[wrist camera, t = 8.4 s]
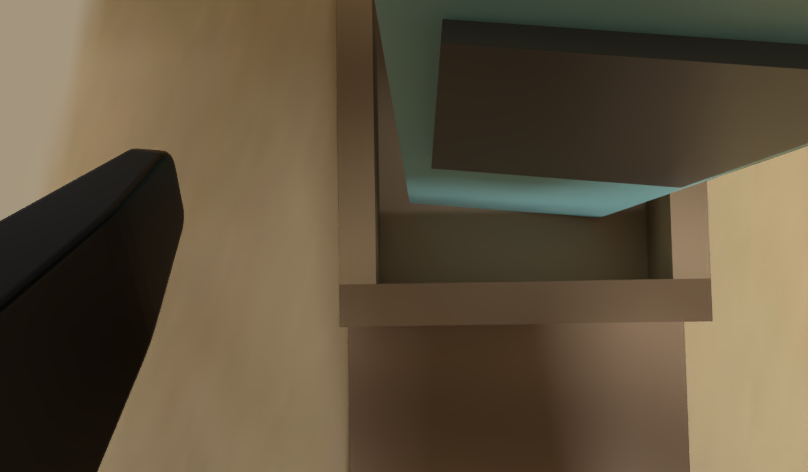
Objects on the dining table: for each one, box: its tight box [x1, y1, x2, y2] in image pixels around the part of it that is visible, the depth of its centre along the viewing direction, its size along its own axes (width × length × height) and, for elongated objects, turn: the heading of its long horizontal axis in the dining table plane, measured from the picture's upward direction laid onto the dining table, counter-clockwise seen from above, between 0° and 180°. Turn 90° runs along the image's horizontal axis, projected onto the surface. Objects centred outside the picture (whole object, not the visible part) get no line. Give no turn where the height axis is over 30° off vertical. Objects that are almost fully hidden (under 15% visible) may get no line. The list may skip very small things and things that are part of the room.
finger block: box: [374, 0, 808, 218], centre depth 9 cm, size 4×4×12 cm
